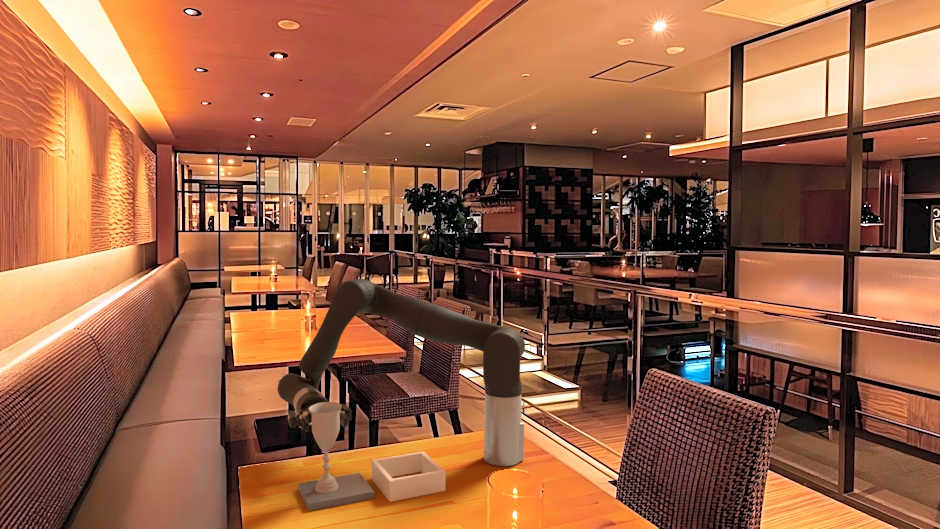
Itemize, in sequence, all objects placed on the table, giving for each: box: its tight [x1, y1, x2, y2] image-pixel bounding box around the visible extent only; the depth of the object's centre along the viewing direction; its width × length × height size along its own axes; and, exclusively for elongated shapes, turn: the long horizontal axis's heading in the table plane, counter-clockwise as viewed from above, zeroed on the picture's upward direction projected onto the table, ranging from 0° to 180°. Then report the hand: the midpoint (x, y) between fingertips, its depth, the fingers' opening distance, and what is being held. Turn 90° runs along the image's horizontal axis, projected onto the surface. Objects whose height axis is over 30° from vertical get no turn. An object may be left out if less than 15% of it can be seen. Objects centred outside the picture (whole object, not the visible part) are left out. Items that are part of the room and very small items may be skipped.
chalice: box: [309, 401, 342, 493], centre depth 132 cm, size 7×7×18 cm
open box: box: [370, 450, 447, 502], centre depth 138 cm, size 13×13×4 cm
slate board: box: [297, 472, 375, 512], centre depth 133 cm, size 14×11×2 cm
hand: (326, 425), depth 139 cm, fingers open, 8 cm apart
